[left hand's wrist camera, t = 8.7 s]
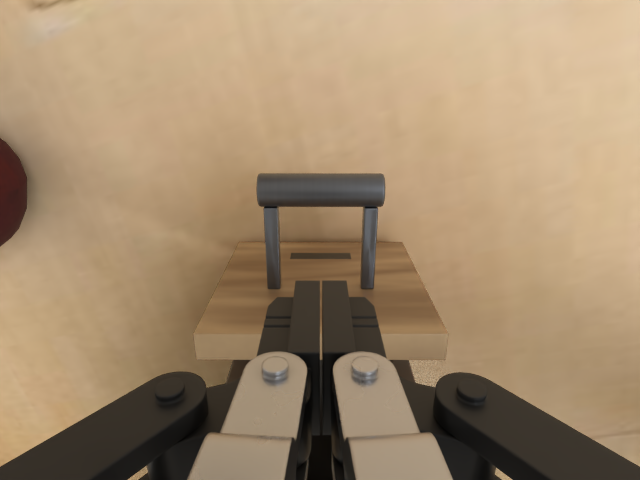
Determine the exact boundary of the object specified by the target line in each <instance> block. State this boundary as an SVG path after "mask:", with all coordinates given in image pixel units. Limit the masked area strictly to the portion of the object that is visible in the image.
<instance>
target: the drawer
mask: <svg viewBox="0 0 640 480" xmlns="http://www.w3.org/2000/svg"><path fill="white" fill-rule="evenodd" d="M384 199H385V179H384V175H383V174H259V175H258V178H257V201H258V204H259V206H261V207H264V227H265V242H239V243H238V245H237V247H236V249H235V251H234V253H233V255H232V257H231V259H230V261H229V263H228V265H227V267H226V269H225V271H224V273H223V275H222V277H221V279H220V281H219V283H218V285H217V287H216V289H215V291H214V293H213V295H212V297H211V299H210V301H209V303H208V305H207V307H206V309H205V311H204V313H203V315H202V317H201V319H200V321H199V323H198V325H197V327H196V329H195V331H194V334H193V337H194V345H195V353H196V359H197V360H233V362H232V365H231V368H230V371H229V375H228V378H227V381H226V383H230V382H232V381H235V380H237V379H239V378H241V376H242V373H243V371H244V368H245V366H246V365H247V364H248V362H250V361H251V360H252V359H253V358H255V357H256V356H257V352H258V348H259V343H260V339H261V335H262V330H263V328H264V321H265V319H266V313H267V308H268V306H269V305H270V304H271V303H272V302H273V301H274V300H275V299H276V298H277V297H294V289H295V281H320V435H311V452H310V455H309V457H308V474H307V480H333V474H332V438H331V435H323V402H322V280H346V281H347V287H348V295H349V297H365V298H366V299H368V300H369V301H370V302H371V303H372V304H373V305H374V307H375V311H376V316H377V320H378V324H379V328H380V332H381V337H382V341H383V345H384V349H385V353H386V357H387V359H388V360H389V361H390V362H392V364H393V365H394V366H395V368H396V371H397V373H398V375H399V376H401V377H402V378H404V379H406V380H409V381H411V382H414V383H416V382H415V379H414V376H413V373H412V370H411V366H410V363H409V360H445V358H446V351H447V343H448V335H449V334H448V332H447V330H446V328H445V326H444V324H443V322H442V320H441V318H440V316H439V314H438V312H437V310H436V308H435V306H434V304H433V302H432V301H431V299H430V297H429V295H428V293H427V291H426V289H425V287H424V285H423V283H422V281H421V279H420V277H419V275H418V273H417V271H416V269H415V267H414V265H413V263H412V261H411V259H410V257H409V255H408V253H407V251H406V249H405V247H404V245H403V243H402V242H376V239H377V219H378V208H377V207H381V206H383V204H384ZM279 207H363V220H362V242H280V228H279Z"/></svg>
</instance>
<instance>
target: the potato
mask: <svg viewBox="0 0 640 480" xmlns="http://www.w3.org/2000/svg"><path fill="white" fill-rule="evenodd" d="M26 209H27V177H26V174H25V172H24V169H23V167H22V164H21V162H20V159H19V158H18V156H17V155H16V154H15V153H14V152H13V150H12V149H11V148H10V147H9V146H8V144H7V143H6V142H4V141H3V140H2V139H0V246H1V245H3V244H4V243H5V242H6V241H8V240H9V239H10V238H11V237H12V236H13V235H14V234H15V232H16V231H17V230H18V229H19V227H20V224H21V222H22V219H23V216H24V214H25V211H26Z"/></svg>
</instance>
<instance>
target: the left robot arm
mask: <svg viewBox="0 0 640 480" xmlns="http://www.w3.org/2000/svg"><path fill="white" fill-rule="evenodd" d="M322 402H323V435H331V438H332V474H333V480H501V479H500V478H499V477H497V476H496V475H495V470H496V468H498V469H499V470H500V471H502V472H503V473H505V474H506V475H507V476H509V477H510V478H511V479H513V480H640V467H639V466H637V465H636V464H634V463H632V462H630V461H629V460H627V459H625V458H624V457H622V456H620V455H618V454H617V453H615V452H613V451H611V450H610V449H608V448H606V447H604V446H603V445H601V444H599V443H598V442H596V441H594V440H592V439H591V438H589V437H587V436H585V435H584V434H582V433H580V432H578V431H577V430H575V429H573V428H571V427H570V426H568V425H566V424H565V423H563V422H561V421H559V420H558V419H556V418H554V417H552V416H551V415H549V414H547V413H545V412H544V411H542V410H540V409H539V408H537V407H535V406H533V405H532V404H530V403H528V402H526V401H525V400H523V399H521V398H519V397H518V396H516V395H514V394H512V393H511V392H509V391H507V390H506V389H504V388H502V387H500V386H499V385H497V384H495V383H493V382H492V381H490V380H488V379H486V378H484V377H481V376H479V375H475V374H471V373H462V372H460V373H451V374H448V375H445V376H443V377H442V378H441V379H439V381H438V382H437V384H436V388H435V387H430V386H426V385H422V384H418V383H414V382H411V381H409V380H406V379H404V378H402V377H401V376H399V375H398V373H397V371H396V368H395V366H394V365H393V364H392V362H390V361H389V360H388V359H387V357H386V353H385V349H384V345H383V341H382V337H381V332H380V328H379V324H378V320H377V316H376V311H375V307H374V305H373V304H372V303H371V302H370V301H369V300H368V299H366V298H365V297H349V295H348V287H347V281H346V280H322ZM311 435H320V281H295V289H294V297H277V298H276V299H275V300H274V301H273V302H272V303H271V304H270V305H269V306H268V308H267V313H266V319H265V321H264V328H263V330H262V335H261V339H260V343H259V348H258V352H257V356H256V357H255V358H253V359H252V360H251V361H250V362H248V364H247V365H246V366H245V368H244V371H243V373H242V376H241V378H239V379H237V380H235V381H232V382H230V383H226V384H222V385H218V386H213V387H209V388H206V385H205V382H204V380H203V379H202V378H201V377H200V376H198V375H196V374H194V373H190V372H172V373H167V374H163V375H161V376H158V377H156V378H154V379H152V380H150V381H148V382H147V383H145V384H143V385H141V386H140V387H138V388H136V389H134V390H133V391H131V392H129V393H128V394H126V395H124V396H122V397H121V398H119V399H117V400H115V401H114V402H112V403H110V404H108V405H107V406H105V407H103V408H101V409H100V410H98V411H96V412H95V413H93V414H91V415H89V416H88V417H86V418H84V419H82V420H81V421H79V422H77V423H75V424H74V425H72V426H70V427H69V428H67V429H65V430H63V431H62V432H60V433H58V434H56V435H55V436H53V437H51V438H49V439H48V440H46V441H44V442H43V443H41V444H39V445H37V446H36V447H34V448H32V449H30V450H29V451H27V452H25V453H23V454H22V455H20V456H18V457H16V458H15V459H13V460H11V461H10V462H8V463H6V464H4V465H3V466H1V467H0V480H127V479H129V478H130V477H131V476H133V475H134V474H135V473H137V472H138V471H140V470H141V469H142V468H144V467H145V466H146V465H147V469H148V473H147V474H145V475H144V476H143V477H141V478H140V479H139V480H307V474H308V457H309V455H310V452H311Z"/></svg>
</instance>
